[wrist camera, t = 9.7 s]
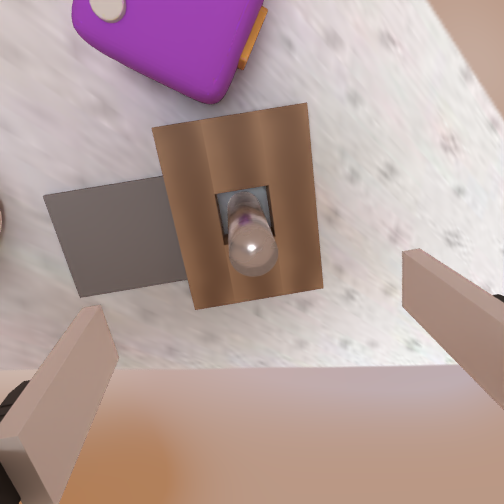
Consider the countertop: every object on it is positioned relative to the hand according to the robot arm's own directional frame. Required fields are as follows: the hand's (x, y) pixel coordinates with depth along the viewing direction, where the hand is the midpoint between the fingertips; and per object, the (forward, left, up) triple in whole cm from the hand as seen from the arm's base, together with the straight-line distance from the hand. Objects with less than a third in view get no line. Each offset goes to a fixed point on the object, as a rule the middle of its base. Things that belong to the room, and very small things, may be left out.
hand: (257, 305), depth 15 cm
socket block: (0, 0, -18) cm, 18 cm away
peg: (0, 0, -18) cm, 18 cm away
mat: (-11, -1, -18) cm, 21 cm away
